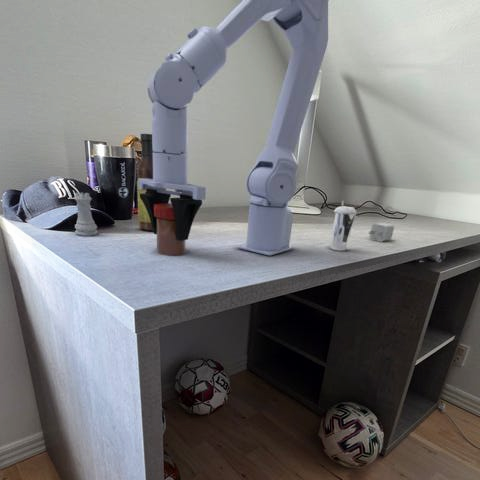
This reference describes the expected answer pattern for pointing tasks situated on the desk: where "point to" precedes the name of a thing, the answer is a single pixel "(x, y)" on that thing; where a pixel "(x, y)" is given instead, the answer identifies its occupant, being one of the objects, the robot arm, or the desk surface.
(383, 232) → the usb wall charger
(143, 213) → the sauce bottle
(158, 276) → the desk surface
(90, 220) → the rook chess piece
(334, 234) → the milkshake
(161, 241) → the jar
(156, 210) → the cap
